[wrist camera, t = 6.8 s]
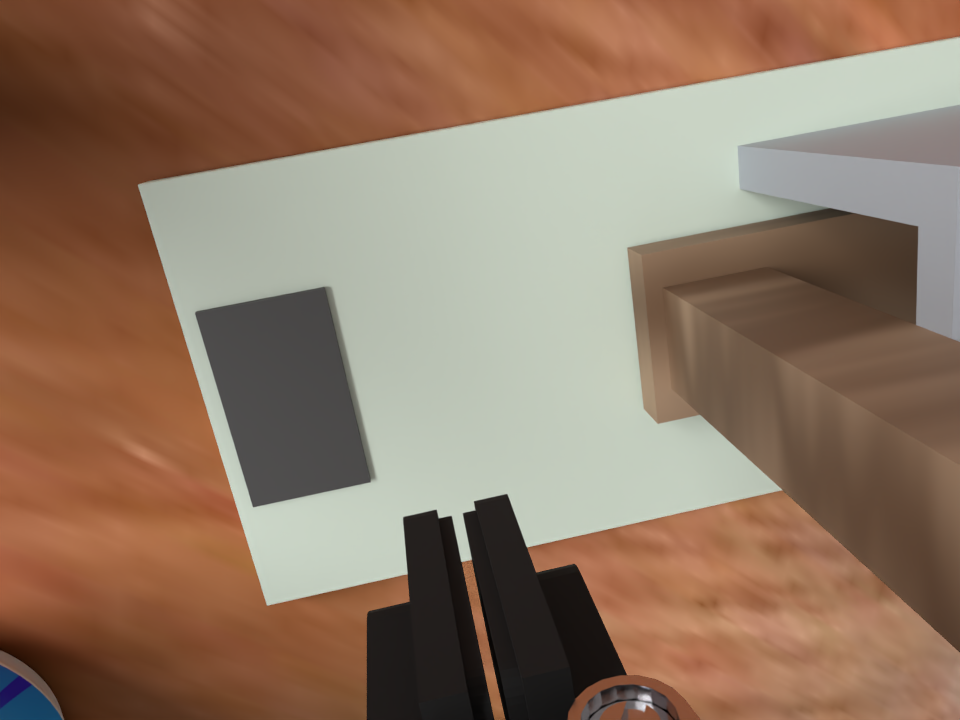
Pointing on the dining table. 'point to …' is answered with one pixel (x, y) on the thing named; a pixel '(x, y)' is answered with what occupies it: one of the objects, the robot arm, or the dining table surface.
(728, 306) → the sled
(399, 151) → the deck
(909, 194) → the tunnel
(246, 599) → the dining table surface
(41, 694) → the beer can
